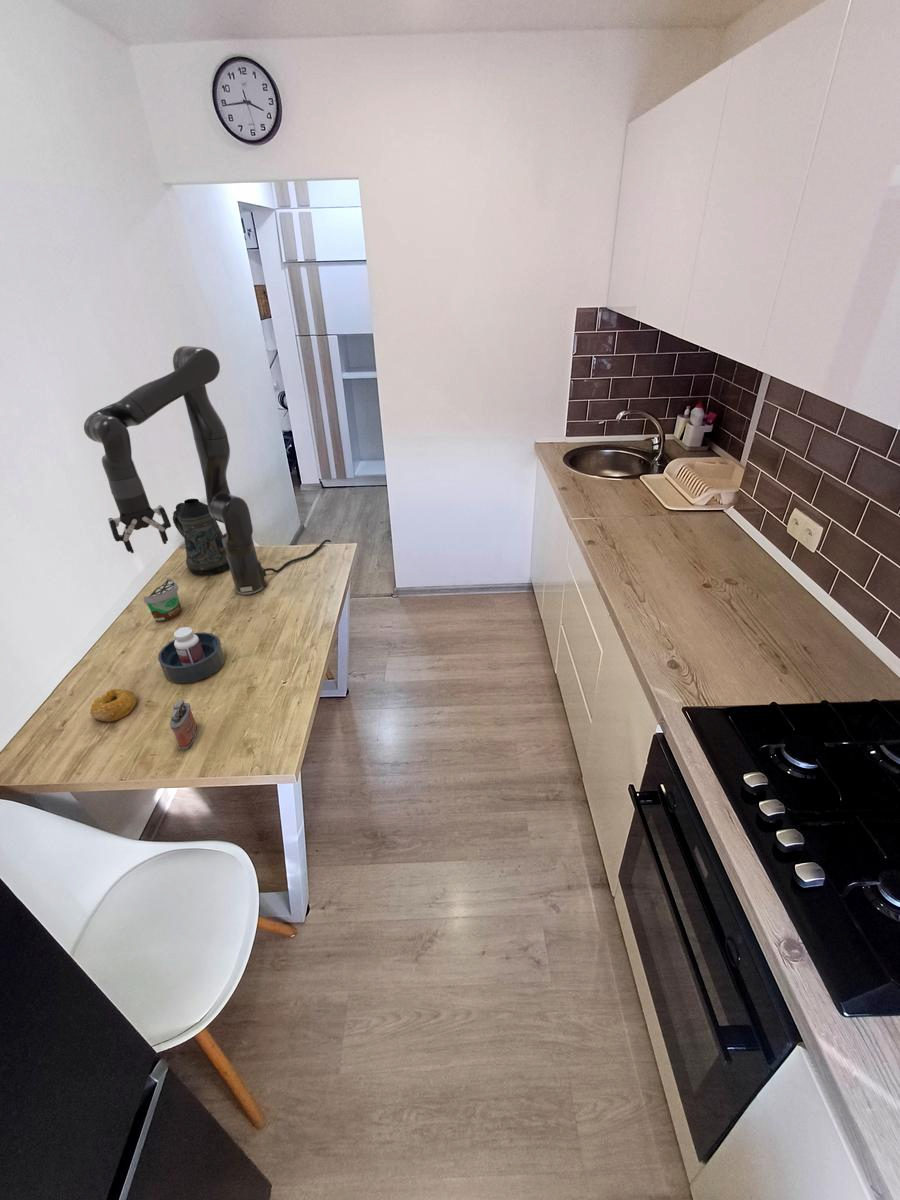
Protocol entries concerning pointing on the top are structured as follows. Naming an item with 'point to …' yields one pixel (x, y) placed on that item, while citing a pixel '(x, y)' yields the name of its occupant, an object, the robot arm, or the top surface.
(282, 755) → the top surface
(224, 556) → the beer stein
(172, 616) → the food container
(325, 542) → the robot arm
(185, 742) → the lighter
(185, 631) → the pill bottle
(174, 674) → the bowl
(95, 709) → the bagel
